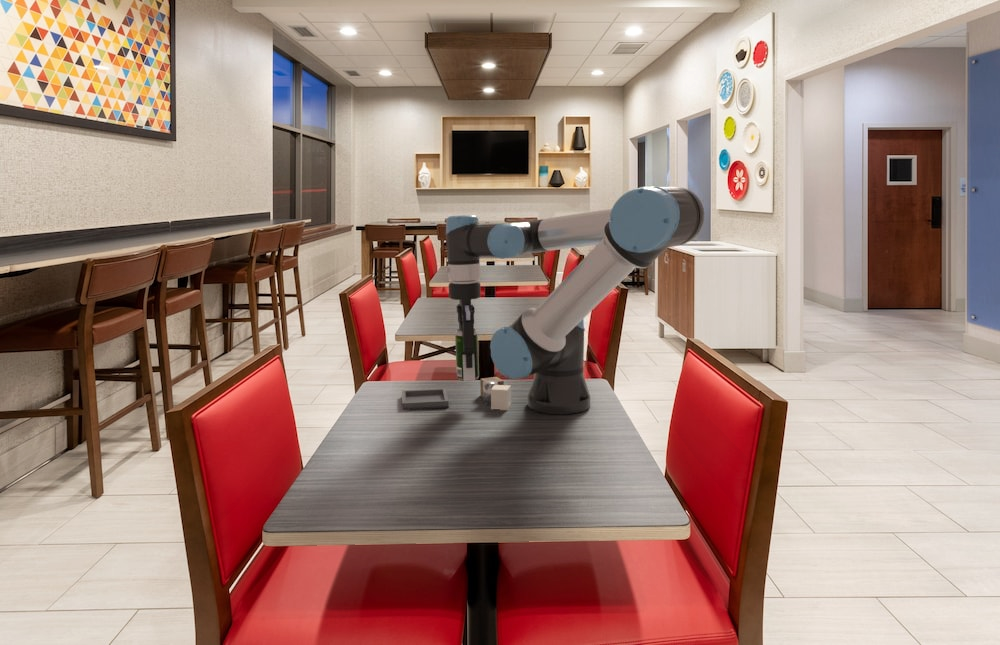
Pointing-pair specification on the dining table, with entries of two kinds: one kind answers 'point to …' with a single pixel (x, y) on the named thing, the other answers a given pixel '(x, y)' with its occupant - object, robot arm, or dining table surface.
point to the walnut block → (500, 382)
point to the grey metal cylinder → (488, 390)
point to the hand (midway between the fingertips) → (468, 377)
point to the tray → (424, 399)
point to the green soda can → (460, 357)
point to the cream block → (501, 397)
